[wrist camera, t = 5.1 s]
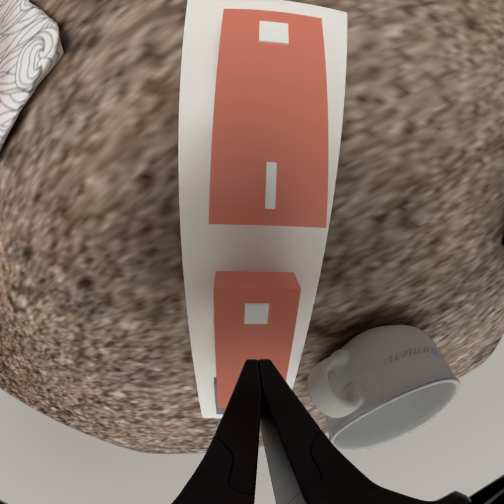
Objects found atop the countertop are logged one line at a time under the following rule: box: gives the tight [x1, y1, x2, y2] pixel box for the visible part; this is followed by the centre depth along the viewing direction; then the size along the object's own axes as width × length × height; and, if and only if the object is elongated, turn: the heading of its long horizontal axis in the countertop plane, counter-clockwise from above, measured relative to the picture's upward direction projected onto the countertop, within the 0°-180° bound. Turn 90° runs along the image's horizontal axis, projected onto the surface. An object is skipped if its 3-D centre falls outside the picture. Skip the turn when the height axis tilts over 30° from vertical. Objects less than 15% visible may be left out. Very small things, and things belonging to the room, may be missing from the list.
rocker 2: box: [213, 271, 301, 408], centre depth 13 cm, size 4×8×2 cm, turn 177°
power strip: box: [178, 0, 347, 418], centre depth 14 cm, size 7×34×4 cm, turn 177°
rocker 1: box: [209, 9, 328, 228], centre depth 8 cm, size 4×8×2 cm, turn 177°
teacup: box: [307, 325, 460, 451], centre depth 18 cm, size 14×11×8 cm
